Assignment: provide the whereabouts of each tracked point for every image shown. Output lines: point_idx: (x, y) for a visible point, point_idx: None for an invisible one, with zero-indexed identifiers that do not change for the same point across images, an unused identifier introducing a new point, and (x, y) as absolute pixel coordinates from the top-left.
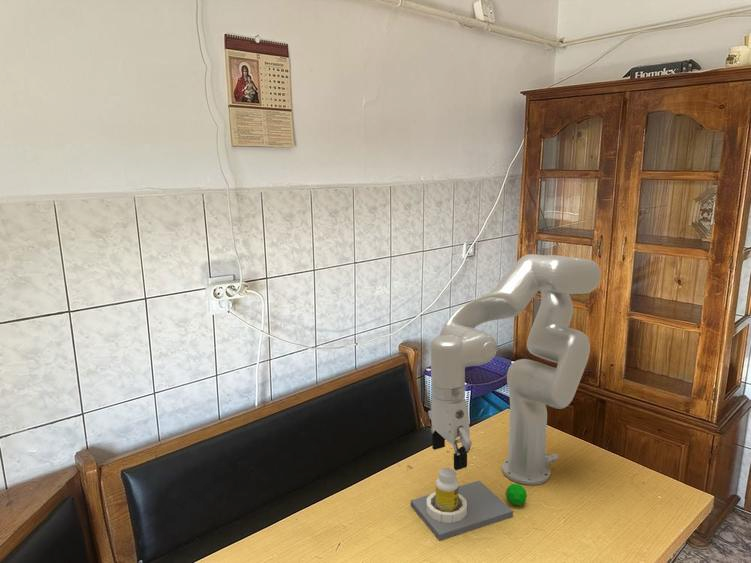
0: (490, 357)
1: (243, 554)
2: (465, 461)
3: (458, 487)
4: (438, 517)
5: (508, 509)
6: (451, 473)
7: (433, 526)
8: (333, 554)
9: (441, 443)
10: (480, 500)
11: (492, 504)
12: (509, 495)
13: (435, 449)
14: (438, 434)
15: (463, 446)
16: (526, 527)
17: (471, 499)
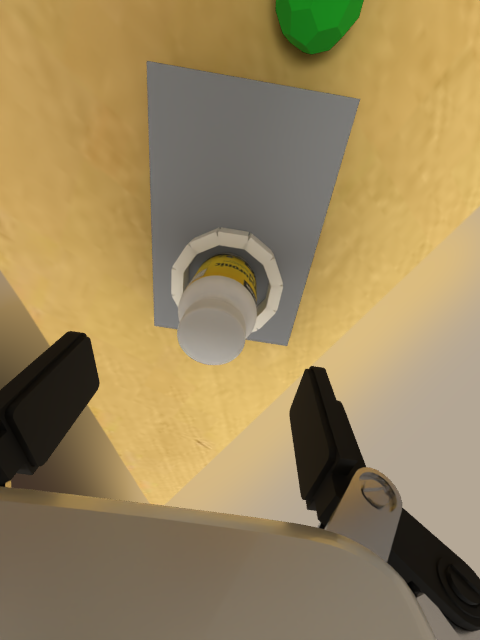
0: None
1: (163, 502)
2: (347, 421)
3: (247, 288)
4: None
5: (342, 108)
6: (227, 333)
7: (259, 339)
8: (214, 453)
9: (75, 371)
10: (248, 164)
11: (287, 142)
12: (316, 41)
13: (98, 381)
14: (27, 447)
15: (443, 638)
16: (415, 108)
17: (227, 188)
